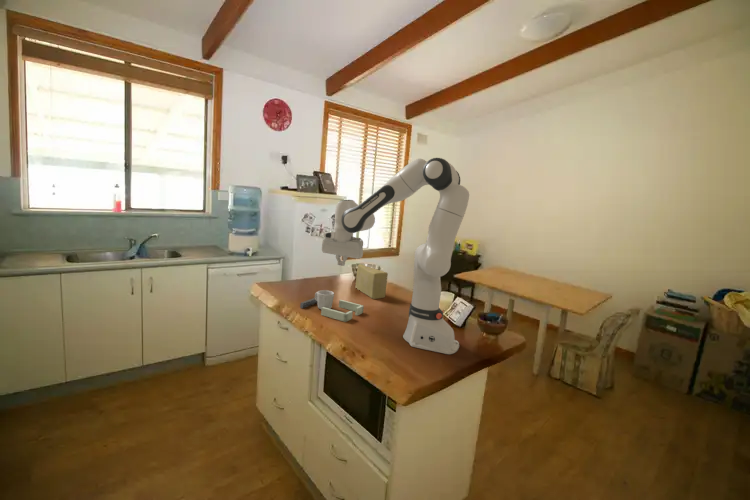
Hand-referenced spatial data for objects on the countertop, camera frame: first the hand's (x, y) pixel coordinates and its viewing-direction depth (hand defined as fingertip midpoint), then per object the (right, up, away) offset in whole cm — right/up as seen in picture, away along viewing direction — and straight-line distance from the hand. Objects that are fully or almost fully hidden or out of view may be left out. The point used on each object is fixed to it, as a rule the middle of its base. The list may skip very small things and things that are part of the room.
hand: (341, 265), depth 160 cm
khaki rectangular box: (+11, -18, +41) cm, 46 cm away
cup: (-10, -21, +8) cm, 24 cm away
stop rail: (-16, -20, +10) cm, 27 cm away
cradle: (0, -23, +2) cm, 23 cm away
